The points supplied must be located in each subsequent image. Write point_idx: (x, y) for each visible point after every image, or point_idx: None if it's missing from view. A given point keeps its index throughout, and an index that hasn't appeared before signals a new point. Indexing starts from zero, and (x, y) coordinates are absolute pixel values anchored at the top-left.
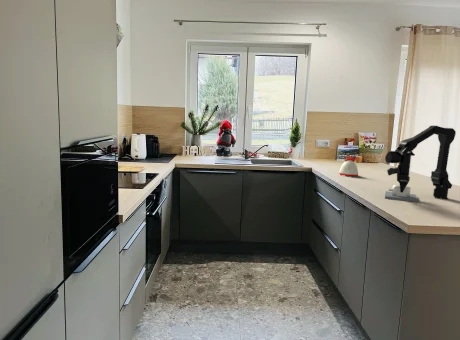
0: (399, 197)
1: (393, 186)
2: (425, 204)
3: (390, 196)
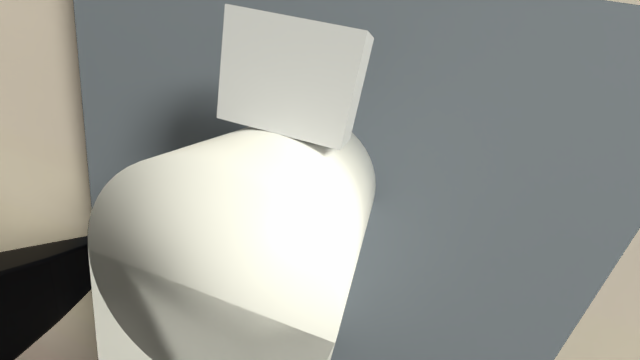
0: (111, 176)
1: (152, 157)
2: (77, 352)
3: (100, 37)
